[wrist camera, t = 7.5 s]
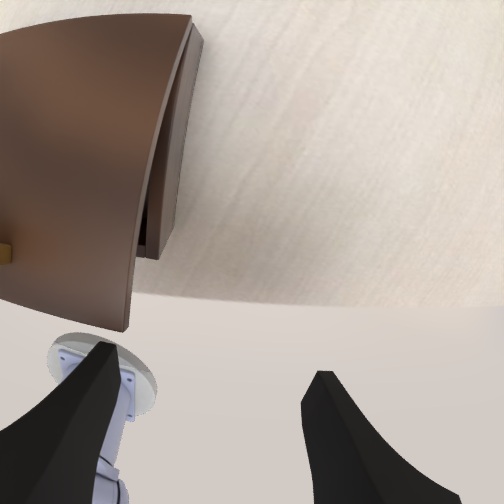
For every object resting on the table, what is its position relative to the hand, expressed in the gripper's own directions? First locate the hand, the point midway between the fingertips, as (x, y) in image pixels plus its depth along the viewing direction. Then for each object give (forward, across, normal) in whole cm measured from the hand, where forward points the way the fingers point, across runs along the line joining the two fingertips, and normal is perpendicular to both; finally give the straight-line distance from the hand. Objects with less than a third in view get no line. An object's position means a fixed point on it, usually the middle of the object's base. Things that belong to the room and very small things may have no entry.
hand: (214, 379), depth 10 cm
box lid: (+3, +10, -7) cm, 13 cm away
